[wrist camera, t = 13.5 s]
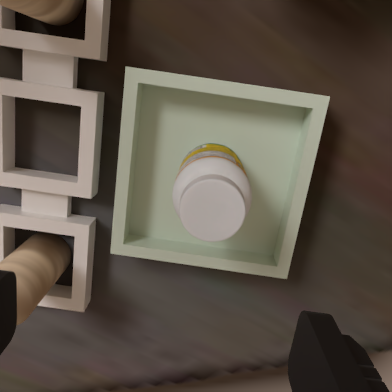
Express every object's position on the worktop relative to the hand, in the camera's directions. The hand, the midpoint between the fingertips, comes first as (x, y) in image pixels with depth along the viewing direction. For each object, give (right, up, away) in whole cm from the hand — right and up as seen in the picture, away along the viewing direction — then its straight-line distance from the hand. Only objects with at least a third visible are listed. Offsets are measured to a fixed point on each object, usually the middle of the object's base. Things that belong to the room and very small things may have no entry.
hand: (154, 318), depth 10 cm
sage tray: (+3, +5, +21) cm, 22 cm away
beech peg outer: (-13, -2, +24) cm, 28 cm away
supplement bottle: (+2, +5, +21) cm, 22 cm away
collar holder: (-11, +8, +21) cm, 25 cm away
